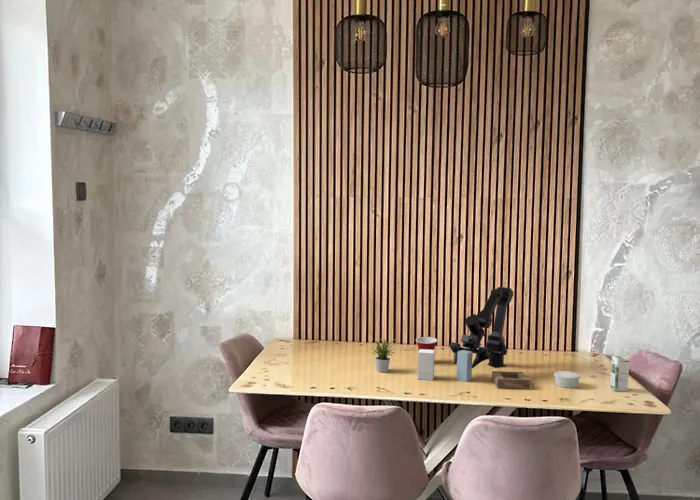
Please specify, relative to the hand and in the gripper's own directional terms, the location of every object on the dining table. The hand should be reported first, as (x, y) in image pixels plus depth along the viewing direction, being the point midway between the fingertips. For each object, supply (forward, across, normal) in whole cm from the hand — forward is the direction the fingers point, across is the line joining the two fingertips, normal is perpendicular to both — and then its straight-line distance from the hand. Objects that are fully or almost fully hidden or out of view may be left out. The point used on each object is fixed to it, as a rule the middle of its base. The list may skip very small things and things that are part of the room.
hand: (463, 365), depth 308 cm
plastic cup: (-7, -30, +16) cm, 34 cm away
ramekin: (-12, +39, +22) cm, 47 cm away
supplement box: (+11, -15, -1) cm, 18 cm away
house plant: (+13, -35, -3) cm, 38 cm away
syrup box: (-18, +60, +28) cm, 68 cm away
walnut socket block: (-1, +20, +11) cm, 22 cm away
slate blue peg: (+4, 0, +6) cm, 7 cm away
